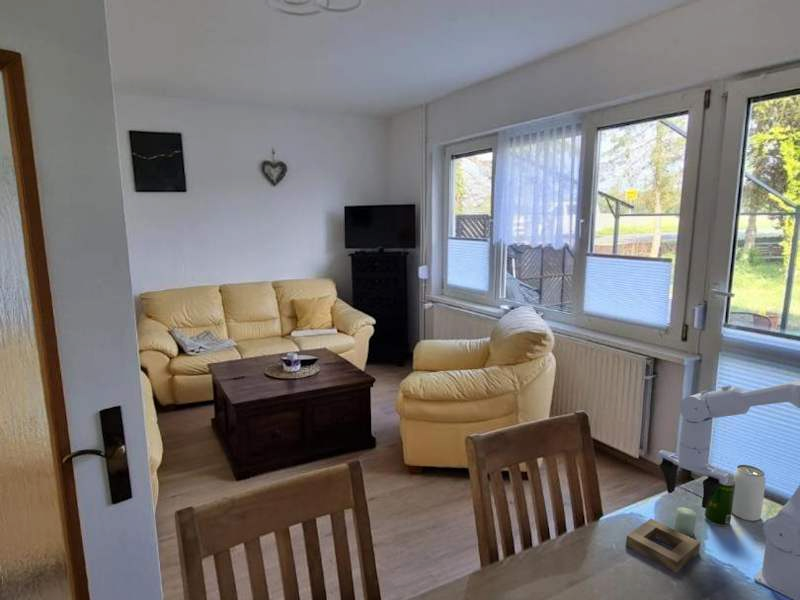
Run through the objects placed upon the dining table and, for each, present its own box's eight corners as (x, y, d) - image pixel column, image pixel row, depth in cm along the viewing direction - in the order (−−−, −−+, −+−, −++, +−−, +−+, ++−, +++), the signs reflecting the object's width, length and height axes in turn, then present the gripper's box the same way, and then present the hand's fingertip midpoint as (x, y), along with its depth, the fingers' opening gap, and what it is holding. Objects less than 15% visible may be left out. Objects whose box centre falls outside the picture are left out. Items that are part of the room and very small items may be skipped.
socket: (698, 552, 111) (700, 542, 110) (676, 572, 104) (677, 561, 104) (649, 527, 119) (650, 518, 119) (625, 545, 113) (626, 535, 112)
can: (734, 519, 123) (740, 474, 122) (725, 505, 130) (731, 462, 128) (764, 524, 122) (771, 478, 120) (754, 509, 128) (760, 466, 126)
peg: (696, 532, 118) (699, 513, 117) (689, 538, 115) (691, 519, 115) (679, 524, 121) (681, 505, 120) (671, 530, 119) (673, 510, 118)
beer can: (733, 522, 122) (739, 476, 120) (725, 530, 119) (731, 484, 117) (709, 512, 126) (714, 468, 124) (700, 519, 123) (706, 474, 121)
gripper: (736, 451, 112) (729, 507, 114) (669, 429, 123) (664, 480, 125) (723, 460, 107) (716, 518, 109) (656, 436, 119) (650, 489, 121)
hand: (687, 498), depth 117 cm, fingers open, 7 cm apart
